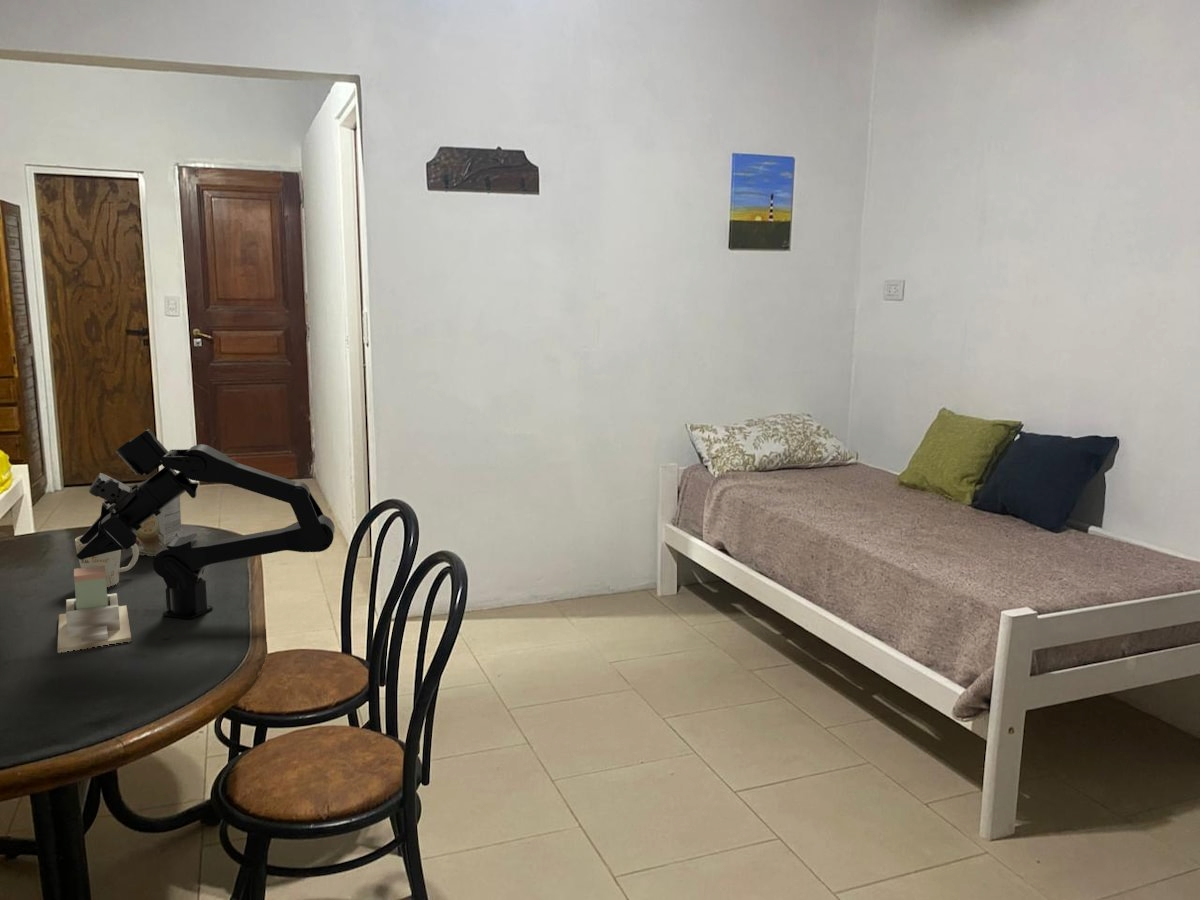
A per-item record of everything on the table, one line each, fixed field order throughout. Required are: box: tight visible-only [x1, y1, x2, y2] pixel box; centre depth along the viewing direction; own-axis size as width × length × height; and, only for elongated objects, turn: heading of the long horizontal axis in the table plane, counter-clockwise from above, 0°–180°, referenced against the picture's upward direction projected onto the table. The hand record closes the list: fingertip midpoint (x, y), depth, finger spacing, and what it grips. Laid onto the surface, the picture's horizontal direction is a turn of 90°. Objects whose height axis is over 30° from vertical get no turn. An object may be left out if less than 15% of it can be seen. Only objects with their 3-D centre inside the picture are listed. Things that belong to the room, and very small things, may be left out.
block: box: [73, 565, 108, 610], centre depth 162 cm, size 5×5×8 cm
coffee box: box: [127, 480, 183, 557], centre depth 208 cm, size 9×6×16 cm
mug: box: [74, 534, 140, 588], centre depth 188 cm, size 8×13×10 cm, turn 152°
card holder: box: [57, 592, 132, 654], centre depth 163 cm, size 11×18×5 cm, turn 29°
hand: (79, 549), depth 163 cm, fingers open, 9 cm apart
